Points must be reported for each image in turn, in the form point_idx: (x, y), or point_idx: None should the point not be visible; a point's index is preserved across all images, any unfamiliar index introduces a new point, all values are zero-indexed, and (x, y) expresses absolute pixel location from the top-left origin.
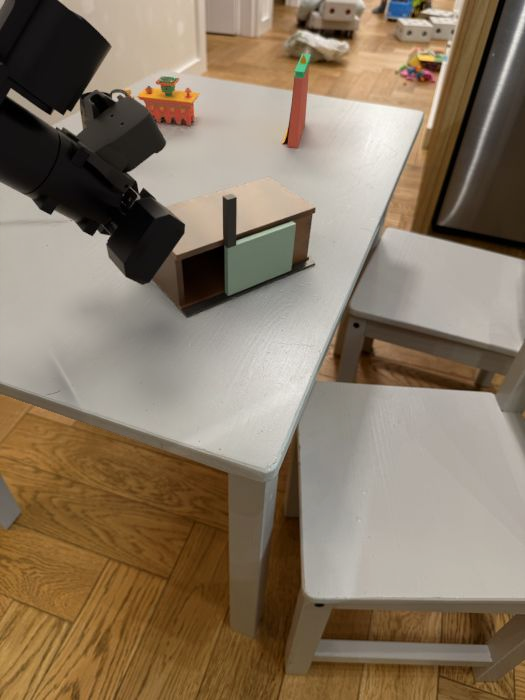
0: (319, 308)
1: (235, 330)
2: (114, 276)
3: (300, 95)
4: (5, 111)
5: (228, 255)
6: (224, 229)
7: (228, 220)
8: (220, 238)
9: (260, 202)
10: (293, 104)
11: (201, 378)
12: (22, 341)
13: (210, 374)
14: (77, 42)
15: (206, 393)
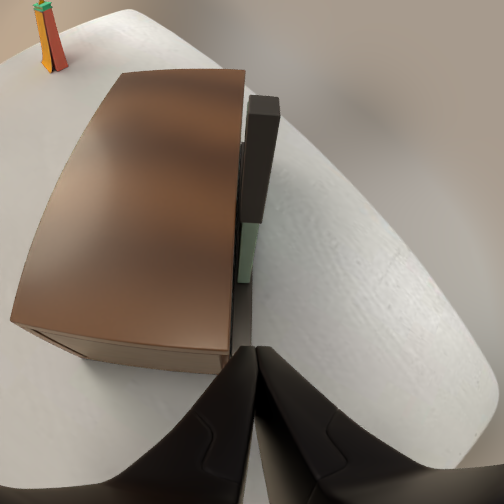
0: (339, 196)
1: (325, 322)
2: (64, 408)
3: (54, 22)
4: None
5: (257, 233)
6: (250, 192)
7: (271, 167)
8: (227, 215)
9: (169, 103)
10: (49, 33)
11: (388, 420)
12: None
13: (388, 405)
14: None
15: (413, 423)
